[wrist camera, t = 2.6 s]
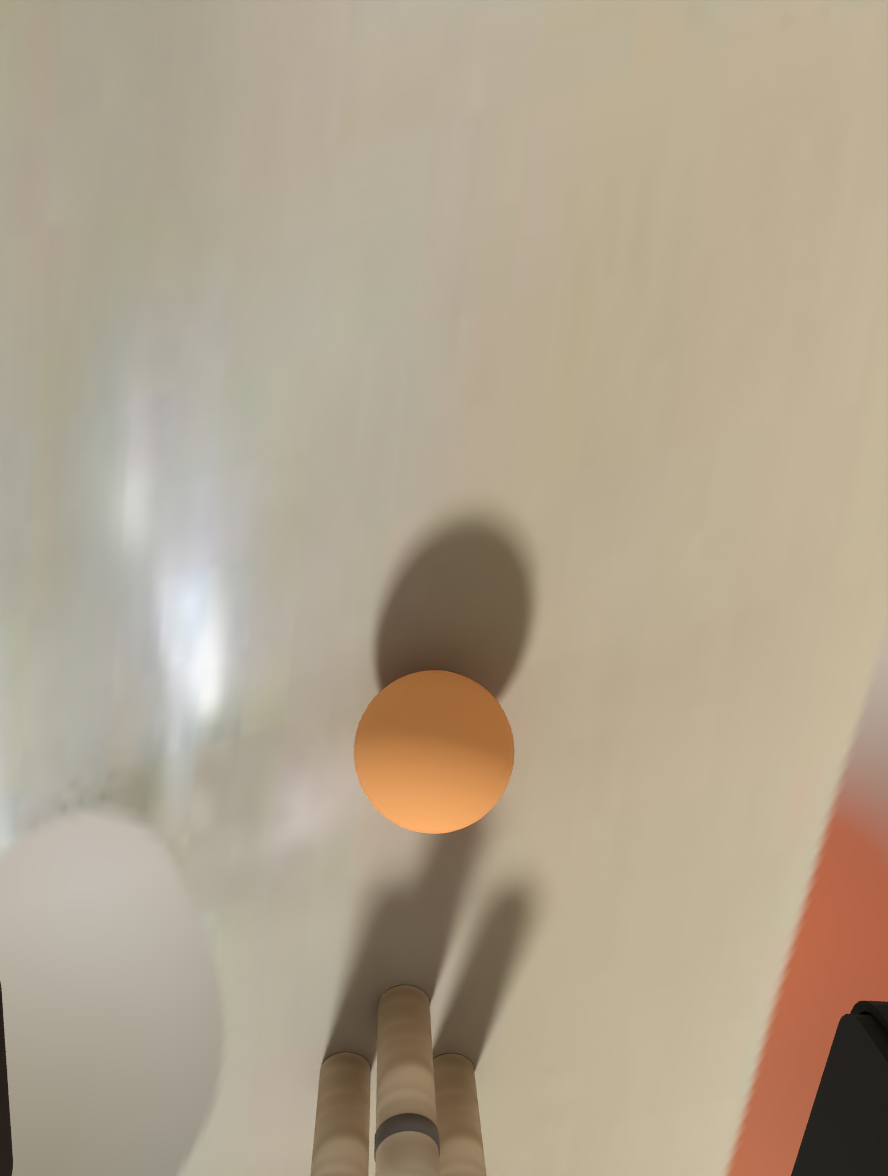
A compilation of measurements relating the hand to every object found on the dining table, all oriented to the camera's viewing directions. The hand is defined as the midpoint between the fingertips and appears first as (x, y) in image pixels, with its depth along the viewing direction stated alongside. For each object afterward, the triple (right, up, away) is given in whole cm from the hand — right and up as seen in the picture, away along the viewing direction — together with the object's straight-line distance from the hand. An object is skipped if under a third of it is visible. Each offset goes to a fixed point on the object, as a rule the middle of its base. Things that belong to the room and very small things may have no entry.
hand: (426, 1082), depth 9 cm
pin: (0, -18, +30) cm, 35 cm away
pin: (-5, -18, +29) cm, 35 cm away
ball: (0, -1, +21) cm, 21 cm away
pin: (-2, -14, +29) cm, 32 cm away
